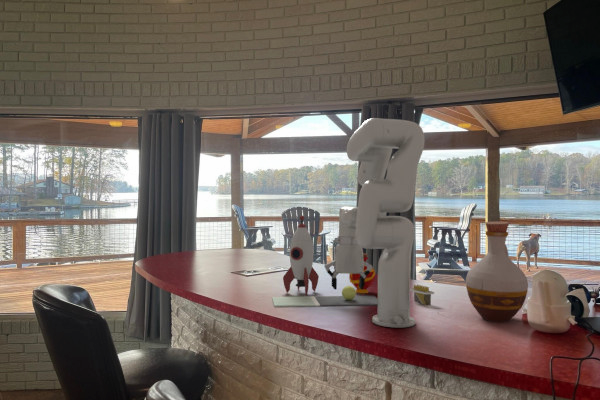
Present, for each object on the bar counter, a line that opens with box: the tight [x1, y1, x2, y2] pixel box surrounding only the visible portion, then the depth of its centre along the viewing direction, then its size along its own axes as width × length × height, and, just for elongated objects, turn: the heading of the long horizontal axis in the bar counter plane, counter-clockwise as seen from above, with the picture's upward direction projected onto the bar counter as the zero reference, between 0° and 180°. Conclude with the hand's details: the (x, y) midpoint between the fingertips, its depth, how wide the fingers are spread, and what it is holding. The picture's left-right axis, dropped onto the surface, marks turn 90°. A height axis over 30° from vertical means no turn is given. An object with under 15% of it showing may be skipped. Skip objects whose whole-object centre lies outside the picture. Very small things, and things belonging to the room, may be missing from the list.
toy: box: [282, 215, 319, 297], centre depth 187 cm, size 11×11×30 cm
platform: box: [410, 284, 435, 306], centre depth 170 cm, size 12×18×7 cm, turn 30°
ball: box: [341, 285, 357, 300], centre depth 172 cm, size 5×5×5 cm
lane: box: [271, 295, 378, 308], centre depth 171 cm, size 14×38×1 cm, turn 96°
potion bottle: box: [348, 252, 376, 294], centre depth 190 cm, size 10×10×15 cm
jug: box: [465, 221, 529, 323], centre depth 150 cm, size 20×18×30 cm
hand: (347, 288), depth 173 cm, fingers open, 9 cm apart
